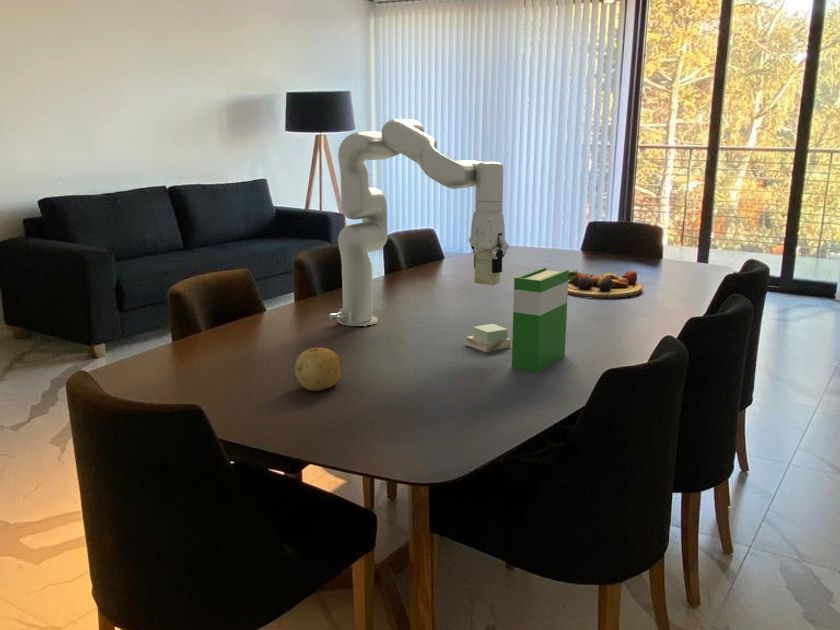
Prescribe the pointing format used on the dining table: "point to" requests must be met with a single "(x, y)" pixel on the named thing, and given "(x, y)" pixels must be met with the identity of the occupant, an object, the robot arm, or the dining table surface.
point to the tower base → (487, 344)
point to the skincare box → (485, 267)
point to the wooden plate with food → (603, 285)
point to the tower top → (490, 333)
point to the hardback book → (539, 318)
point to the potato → (318, 369)
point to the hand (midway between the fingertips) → (487, 270)
